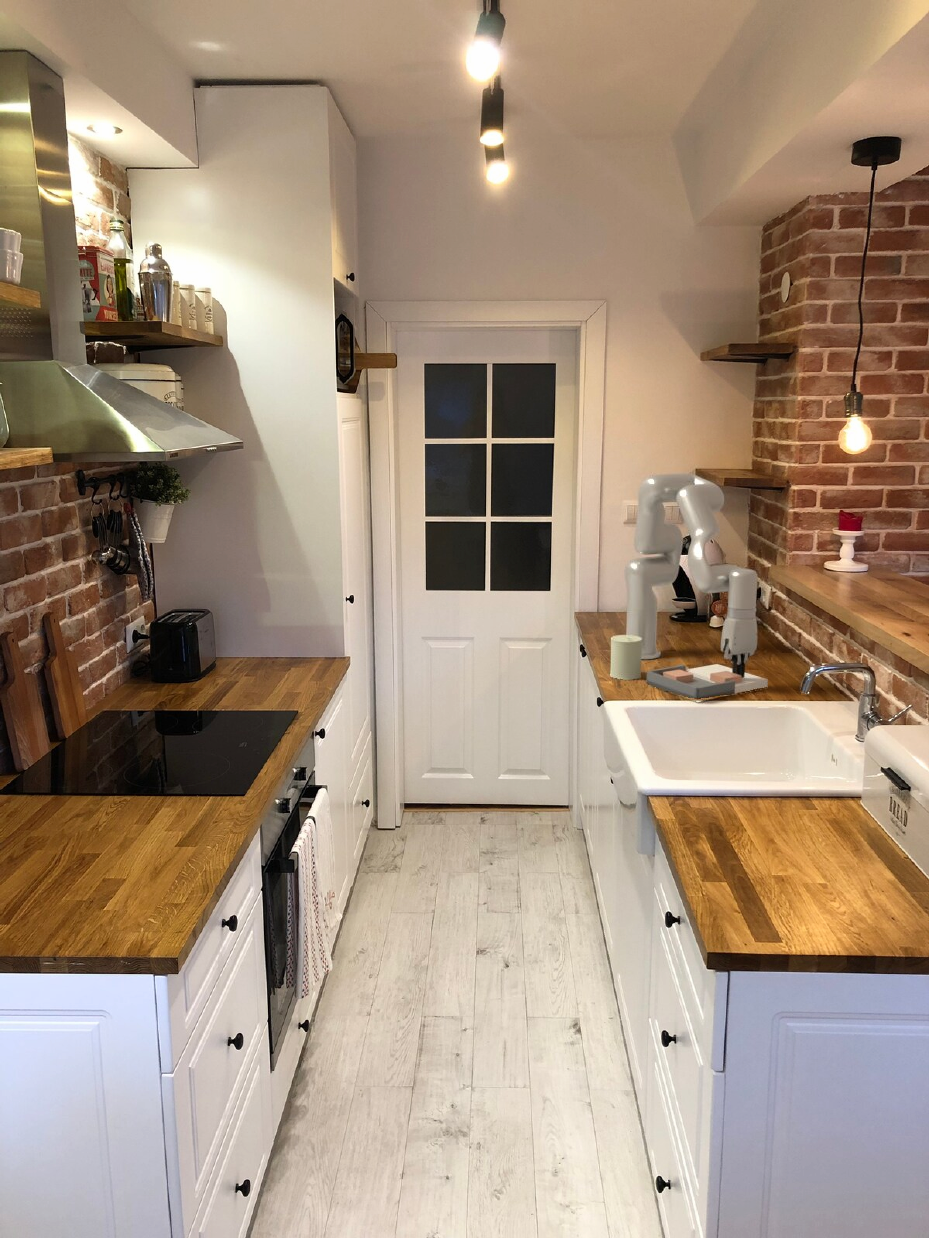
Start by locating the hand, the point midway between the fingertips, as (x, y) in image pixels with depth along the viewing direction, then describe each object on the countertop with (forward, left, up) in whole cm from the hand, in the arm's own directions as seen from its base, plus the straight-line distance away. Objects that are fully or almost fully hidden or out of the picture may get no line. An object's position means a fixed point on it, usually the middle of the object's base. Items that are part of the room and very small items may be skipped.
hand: (738, 676), depth 275 cm
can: (-27, -19, -4) cm, 33 cm away
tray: (-6, -13, -3) cm, 14 cm away
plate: (-6, +1, -3) cm, 7 cm away
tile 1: (-11, -12, -2) cm, 17 cm away
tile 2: (0, -5, -1) cm, 5 cm away
